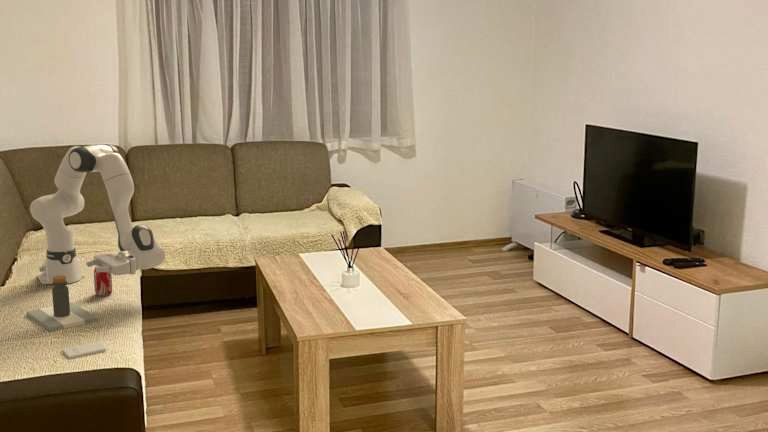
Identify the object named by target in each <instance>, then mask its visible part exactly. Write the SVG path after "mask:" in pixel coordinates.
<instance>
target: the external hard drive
mask: <svg viewBox="0 0 768 432" xmlns="http://www.w3.org/2000/svg"><path fill="white" fill-rule="evenodd" d="M61 352H62V353H63V354H64V355H65V356H66V358H67V359H68V360H71V359H76V358H77V359H78V358H82V357H85V356H89V355H94V354H99V353H105V352H107V348H106V347H105V346H103V344H101V342H99V341H97V342H92V343H87V344H82V345H77V346H72V347H68V348H63V349H61Z"/></svg>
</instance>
